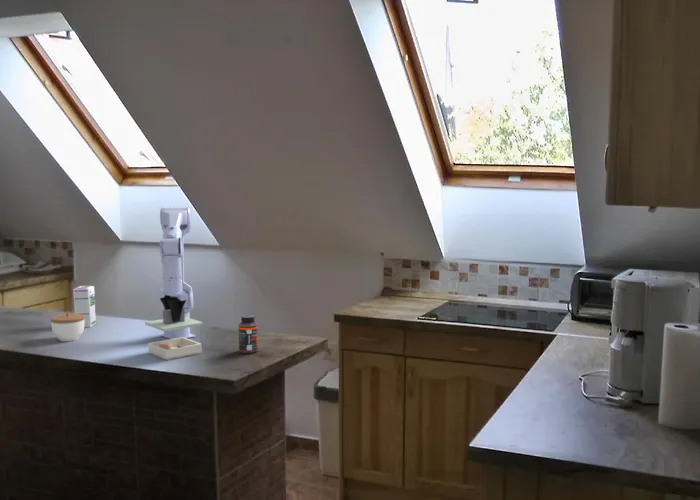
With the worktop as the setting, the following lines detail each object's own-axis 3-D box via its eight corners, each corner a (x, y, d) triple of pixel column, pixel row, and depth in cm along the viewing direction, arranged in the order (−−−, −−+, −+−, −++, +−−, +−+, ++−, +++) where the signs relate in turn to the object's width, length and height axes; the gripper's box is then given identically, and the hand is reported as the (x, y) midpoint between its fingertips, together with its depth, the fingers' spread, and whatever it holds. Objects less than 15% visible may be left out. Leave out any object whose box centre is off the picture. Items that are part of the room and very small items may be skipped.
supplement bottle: (254, 354, 222) (253, 318, 221) (236, 353, 223) (235, 317, 222) (260, 349, 228) (260, 314, 226) (243, 348, 229) (242, 313, 228)
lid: (145, 324, 224) (144, 309, 223) (182, 318, 232) (182, 303, 232) (164, 331, 214) (163, 315, 213) (203, 324, 223) (202, 309, 222)
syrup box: (91, 327, 260) (89, 288, 258) (75, 327, 260) (72, 288, 258) (97, 324, 266) (95, 285, 264) (81, 324, 266) (79, 285, 264)
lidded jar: (58, 344, 236) (56, 316, 235) (47, 339, 244) (45, 311, 243) (90, 339, 243) (89, 312, 242) (78, 333, 251) (77, 307, 250)
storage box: (148, 352, 225) (148, 343, 224) (183, 346, 233) (182, 337, 232) (166, 360, 216) (166, 350, 216) (201, 353, 224) (201, 343, 223)
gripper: (149, 275, 224) (151, 318, 226) (171, 281, 213) (173, 326, 215) (170, 273, 229) (171, 315, 230) (192, 278, 218) (194, 322, 220)
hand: (173, 320), depth 223 cm, fingers closed on lid, 2 cm apart
